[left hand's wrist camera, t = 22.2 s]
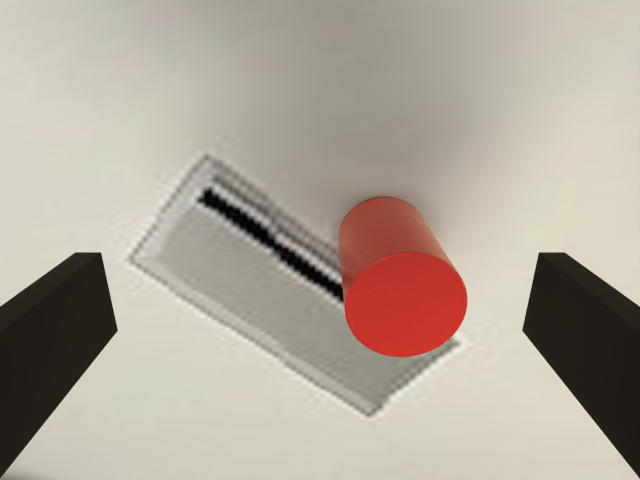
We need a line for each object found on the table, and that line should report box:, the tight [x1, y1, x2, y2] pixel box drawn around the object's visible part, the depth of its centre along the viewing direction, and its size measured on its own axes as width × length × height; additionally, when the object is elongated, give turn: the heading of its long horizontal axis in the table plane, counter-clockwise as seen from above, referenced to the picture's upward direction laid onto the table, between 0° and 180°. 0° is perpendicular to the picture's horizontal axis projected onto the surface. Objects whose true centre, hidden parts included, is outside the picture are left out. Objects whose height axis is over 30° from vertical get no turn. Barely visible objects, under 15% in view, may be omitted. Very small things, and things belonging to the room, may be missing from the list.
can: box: [339, 197, 467, 357], centre depth 29 cm, size 7×7×10 cm
